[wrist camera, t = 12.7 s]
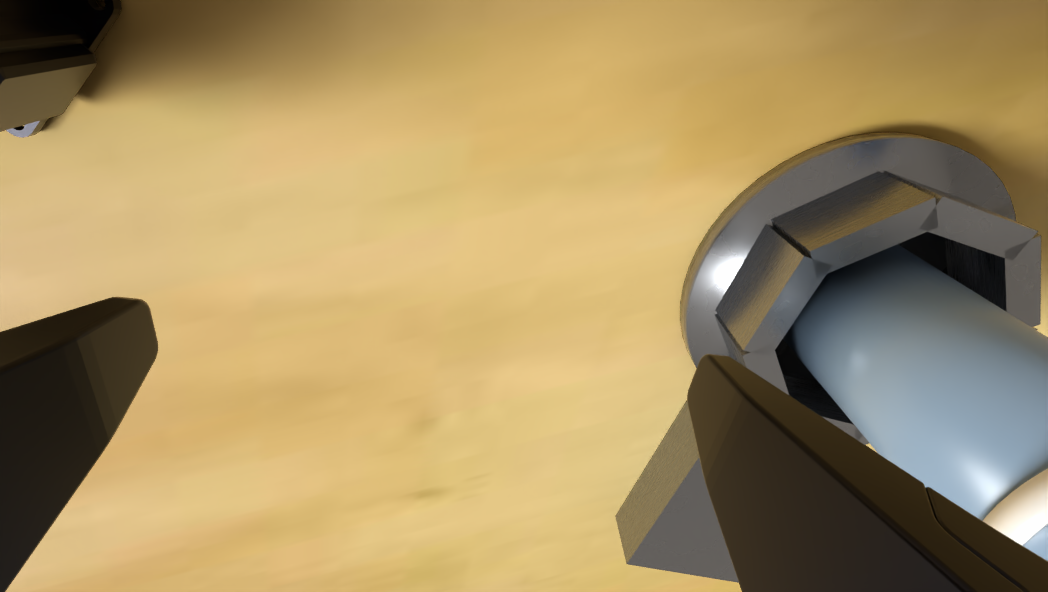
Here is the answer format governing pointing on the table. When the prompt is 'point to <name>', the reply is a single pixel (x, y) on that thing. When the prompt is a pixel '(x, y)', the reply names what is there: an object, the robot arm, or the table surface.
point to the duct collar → (791, 279)
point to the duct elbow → (937, 385)
